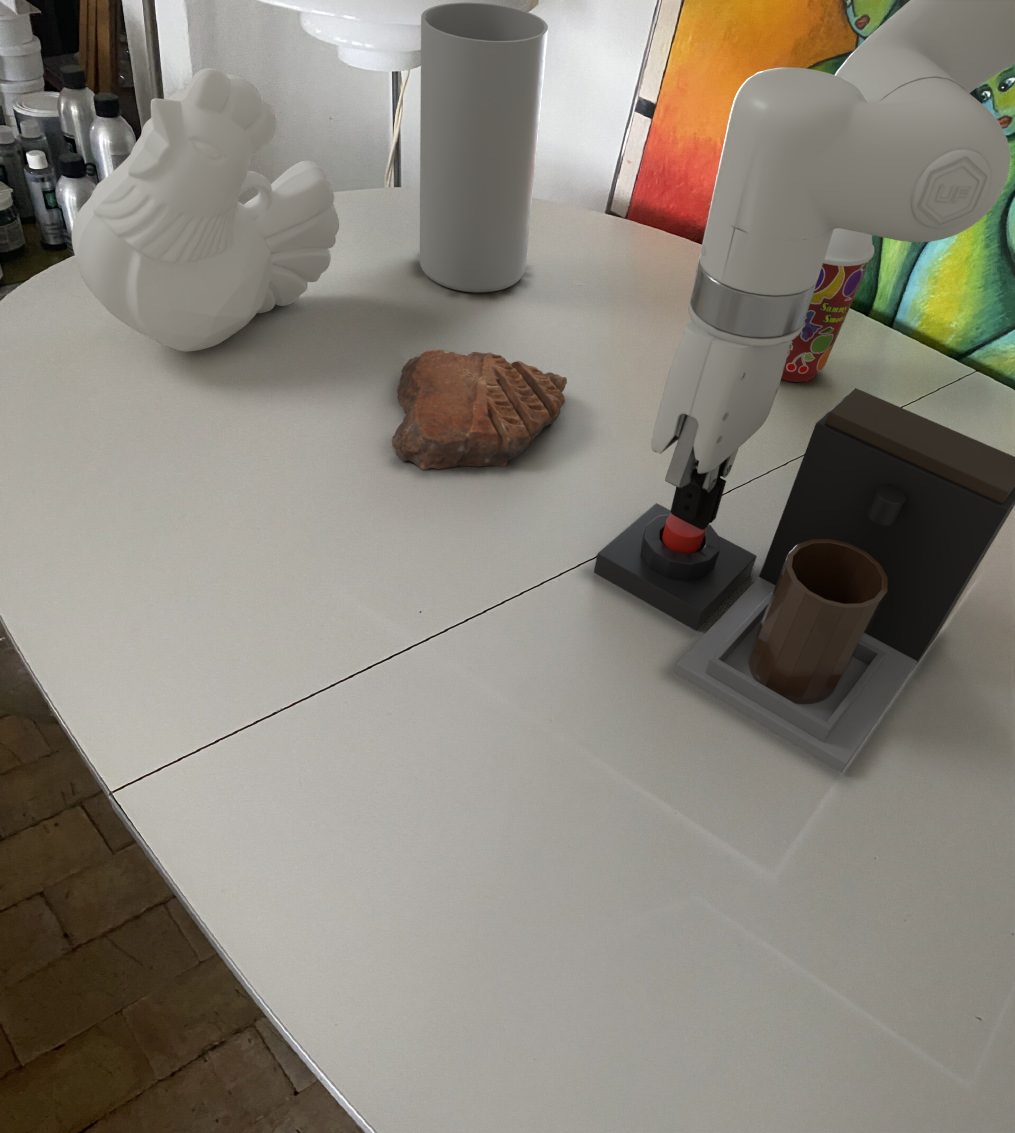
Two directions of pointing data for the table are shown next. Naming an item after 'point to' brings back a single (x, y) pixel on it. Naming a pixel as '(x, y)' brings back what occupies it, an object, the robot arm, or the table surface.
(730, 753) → the table surface
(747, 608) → the coffee maker
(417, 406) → the pottery shard
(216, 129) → the decorative rooster
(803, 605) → the brown cup
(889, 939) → the table surface
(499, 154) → the cylinder vase
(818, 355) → the smoothie
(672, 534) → the button
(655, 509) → the black button housing
